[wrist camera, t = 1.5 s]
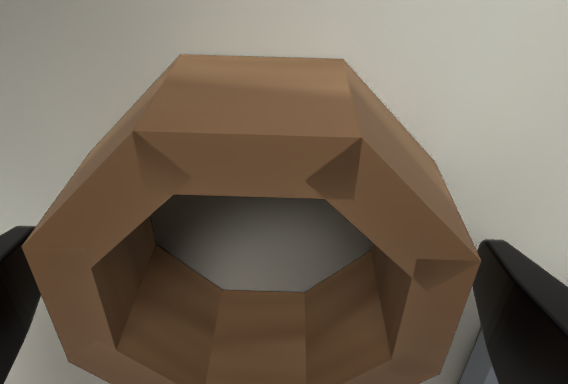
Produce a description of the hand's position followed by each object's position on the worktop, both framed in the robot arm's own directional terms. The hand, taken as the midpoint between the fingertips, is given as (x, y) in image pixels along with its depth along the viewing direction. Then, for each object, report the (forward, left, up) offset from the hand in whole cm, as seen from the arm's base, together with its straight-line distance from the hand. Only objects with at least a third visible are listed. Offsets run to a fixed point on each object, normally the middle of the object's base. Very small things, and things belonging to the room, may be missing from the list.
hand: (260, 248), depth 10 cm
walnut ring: (0, 0, -1) cm, 1 cm away
